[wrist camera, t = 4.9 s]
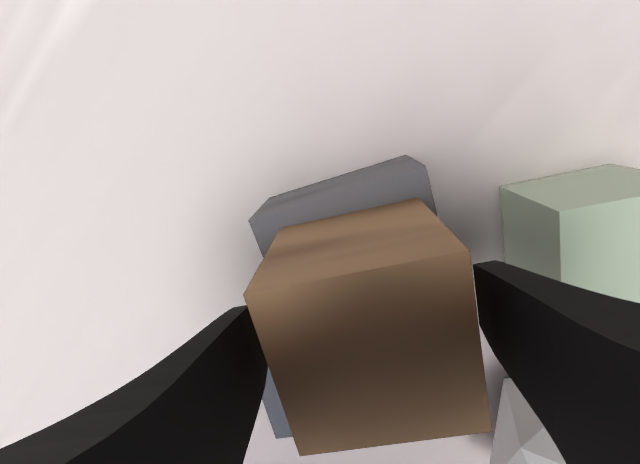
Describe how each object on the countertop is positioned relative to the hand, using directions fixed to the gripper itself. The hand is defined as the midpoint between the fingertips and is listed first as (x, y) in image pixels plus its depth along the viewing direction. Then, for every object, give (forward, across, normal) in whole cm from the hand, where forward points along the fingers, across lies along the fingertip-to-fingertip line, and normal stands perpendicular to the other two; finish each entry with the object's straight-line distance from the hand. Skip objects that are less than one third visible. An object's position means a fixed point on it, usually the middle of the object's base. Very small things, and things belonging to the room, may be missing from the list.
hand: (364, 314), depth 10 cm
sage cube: (+6, -9, +1) cm, 11 cm away
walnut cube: (+3, 0, 0) cm, 3 cm away
